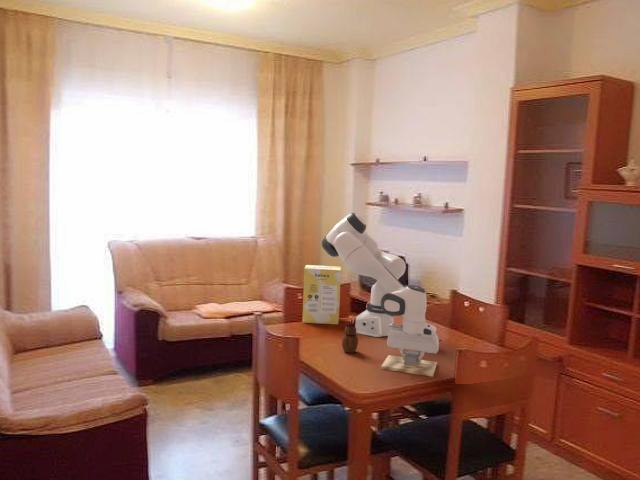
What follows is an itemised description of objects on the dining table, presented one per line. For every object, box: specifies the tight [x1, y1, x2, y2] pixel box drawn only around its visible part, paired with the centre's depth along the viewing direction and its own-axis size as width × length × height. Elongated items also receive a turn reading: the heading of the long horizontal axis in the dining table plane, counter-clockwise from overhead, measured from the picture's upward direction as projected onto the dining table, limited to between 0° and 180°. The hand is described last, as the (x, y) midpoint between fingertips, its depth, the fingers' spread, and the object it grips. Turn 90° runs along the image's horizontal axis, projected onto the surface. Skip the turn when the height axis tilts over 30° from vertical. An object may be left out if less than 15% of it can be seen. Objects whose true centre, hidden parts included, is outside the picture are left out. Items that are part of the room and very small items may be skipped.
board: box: [380, 354, 438, 378], centre depth 213 cm, size 20×14×1 cm
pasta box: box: [302, 264, 342, 325], centre depth 275 cm, size 18×10×28 cm, turn 86°
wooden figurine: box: [341, 317, 359, 354], centre depth 228 cm, size 7×6×15 cm
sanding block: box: [404, 350, 420, 368], centre depth 212 cm, size 4×8×4 cm, turn 161°
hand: (411, 360), depth 212 cm, fingers closed on sanding block, 4 cm apart
